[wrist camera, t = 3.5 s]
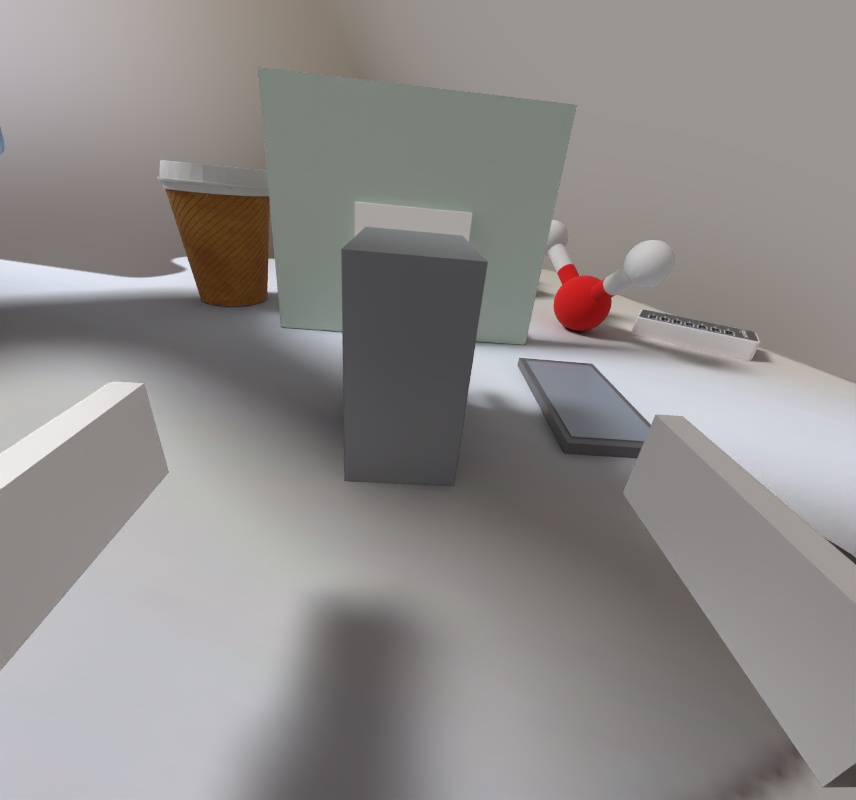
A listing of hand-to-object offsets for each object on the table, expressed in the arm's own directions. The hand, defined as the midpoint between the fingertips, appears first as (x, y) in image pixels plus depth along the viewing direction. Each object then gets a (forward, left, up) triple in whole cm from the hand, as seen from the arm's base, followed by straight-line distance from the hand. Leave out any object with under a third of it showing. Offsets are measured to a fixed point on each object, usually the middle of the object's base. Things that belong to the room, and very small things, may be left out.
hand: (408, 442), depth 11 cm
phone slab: (+12, +14, -6) cm, 20 cm away
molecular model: (+18, +31, -6) cm, 37 cm away
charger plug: (0, +9, -6) cm, 11 cm away
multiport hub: (+30, +30, -7) cm, 43 cm away
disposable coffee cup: (-18, +33, -6) cm, 38 cm away
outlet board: (0, +28, -6) cm, 29 cm away
